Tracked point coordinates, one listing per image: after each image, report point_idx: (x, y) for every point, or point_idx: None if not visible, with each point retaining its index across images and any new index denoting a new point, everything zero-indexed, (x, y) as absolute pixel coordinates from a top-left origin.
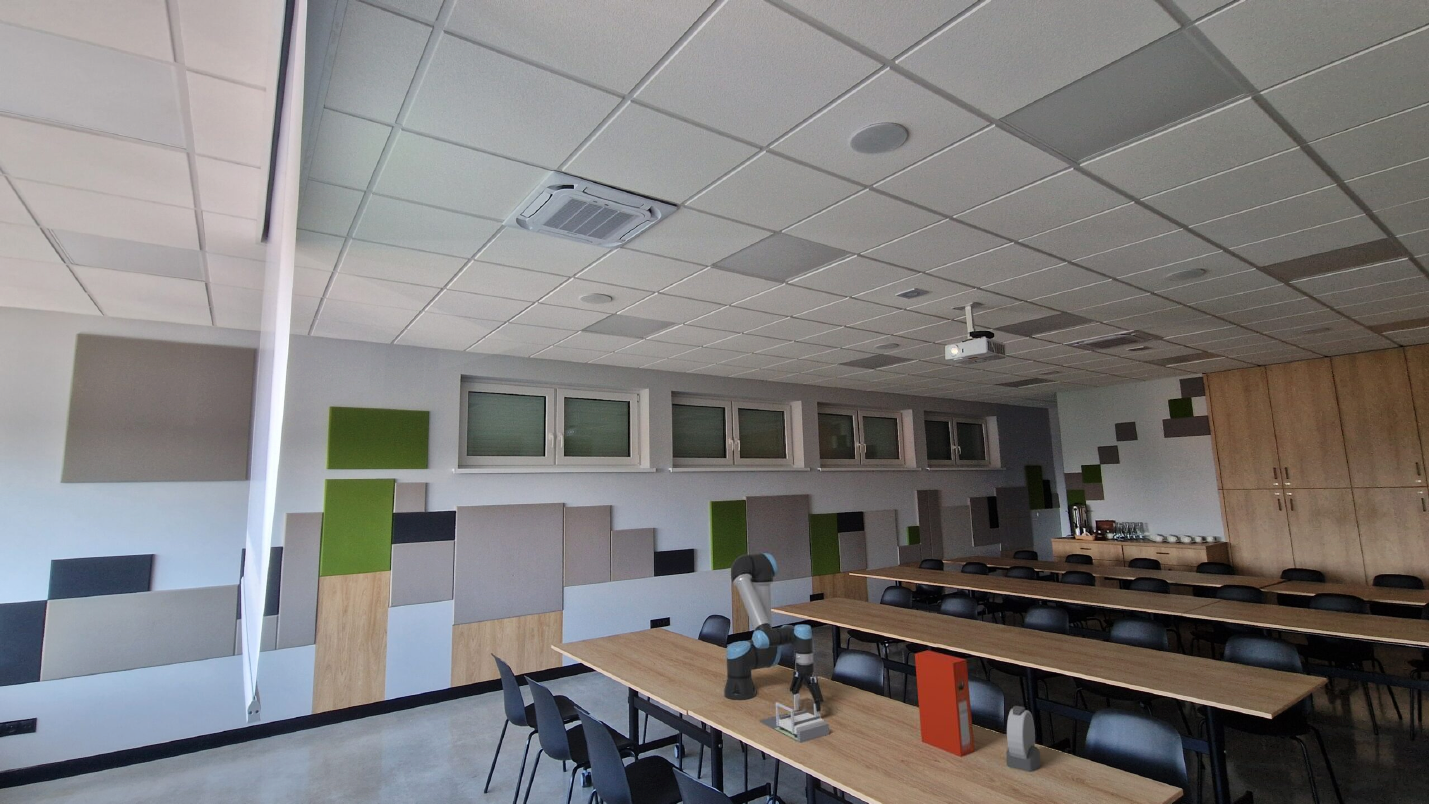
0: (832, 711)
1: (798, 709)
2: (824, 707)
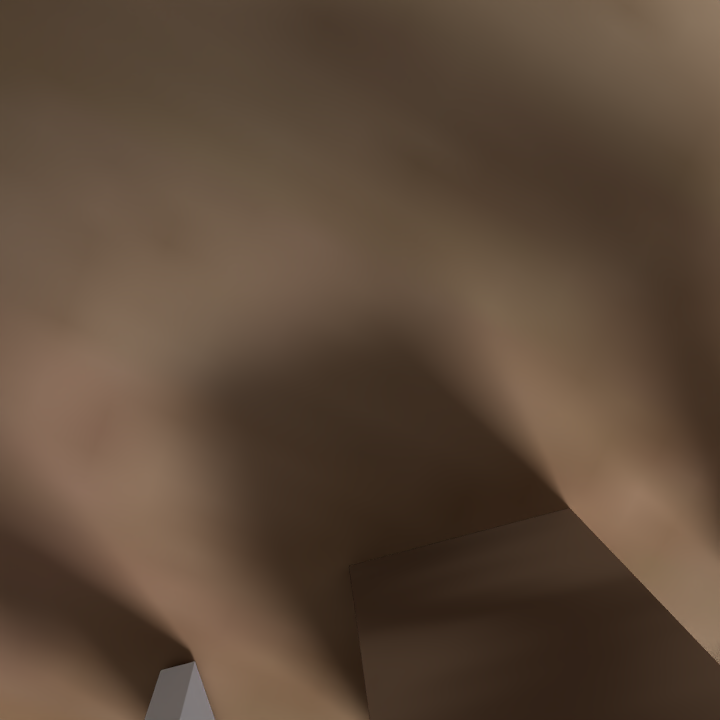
0: (554, 75)
1: (205, 703)
2: (241, 117)
